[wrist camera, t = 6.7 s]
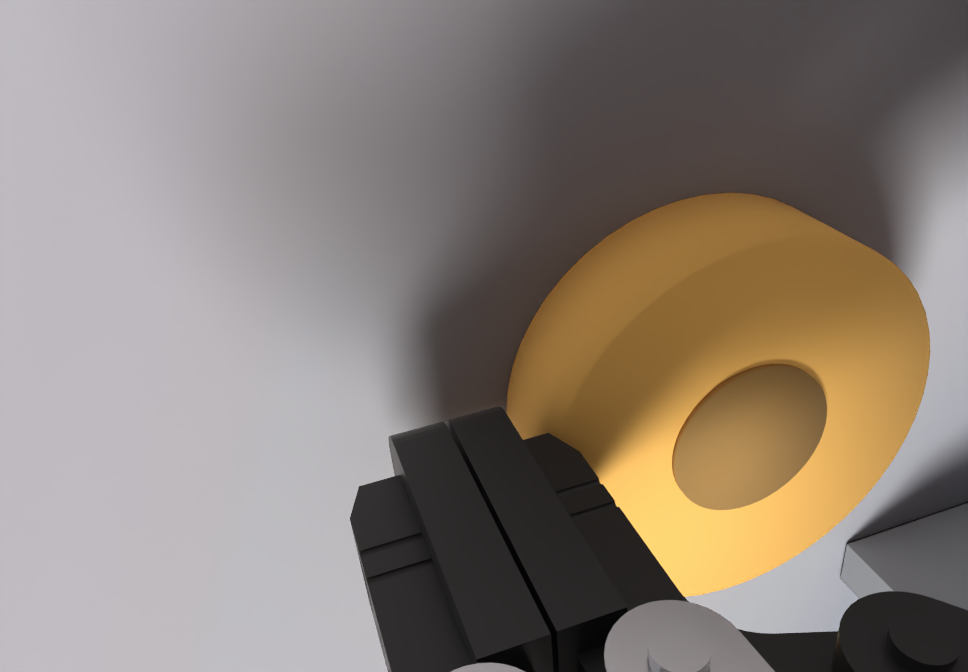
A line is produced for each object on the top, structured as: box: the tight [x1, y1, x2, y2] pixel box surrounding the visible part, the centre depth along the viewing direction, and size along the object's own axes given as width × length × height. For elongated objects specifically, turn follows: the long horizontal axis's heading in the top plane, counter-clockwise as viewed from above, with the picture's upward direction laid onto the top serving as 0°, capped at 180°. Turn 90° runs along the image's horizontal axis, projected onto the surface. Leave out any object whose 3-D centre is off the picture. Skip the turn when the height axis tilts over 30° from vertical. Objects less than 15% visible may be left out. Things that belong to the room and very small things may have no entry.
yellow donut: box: [506, 192, 930, 597], centre depth 12 cm, size 6×6×2 cm
